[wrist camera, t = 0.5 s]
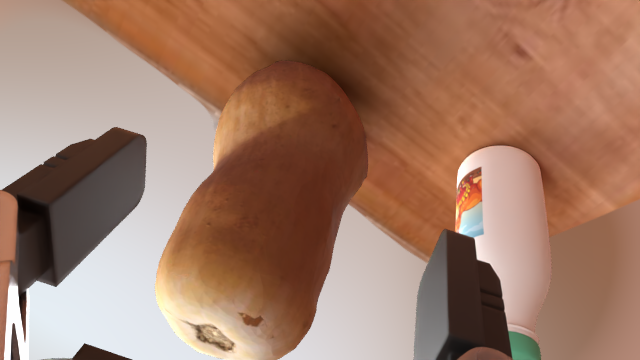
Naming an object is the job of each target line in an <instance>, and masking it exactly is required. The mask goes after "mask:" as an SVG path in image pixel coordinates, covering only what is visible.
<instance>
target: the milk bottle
mask: <svg viewBox="0 0 640 360" xmlns="http://www.w3.org/2000/svg"><path fill="white" fill-rule="evenodd" d="M456 232H457V233H460V234H463V235H467V236H470V237H473V238H474V239H475V245H476V255H477V260H480V261H483V262H487V263H490V265H491V266H492V268H493V269H494V271H495V272H496V274H497V276H498V277H499V279H500V282H501V288H502V294H503V296H502V299H503V301H504V307H505V310H504V312H505V313H506V320H507V326H508V332H509V339H510V345H511V351H512V358H513V360H541V355H540V348H539V346H538V345H539V338H538V336H537V335H536V334H535V325H536V320H537V317H538V314H539V311H540V308H541V306H542V304H543V302H544V300H545V298H546V296H547V293H548V289H549V286H550V281H551V272H552V264H551V251H550V241H549V232H548V223H547V215H546V207H545V199H544V192H543V184H542V177H541V172H540V168H539V165H538V163H537V162H536V161H535V160H534V158H533V157H532V156H531V155H529V154H528V153H527V152H525V151H523V150H521V149H518V148H515V147H511V146H490V147H486V148H482V149H479V150H477V151H475V152H473V153H472V154H471V155H469V156H468V157H467V158H466V159H465V160H464V161H463V163H462V164H461V166H460V168H459V170H458V178H457V201H456Z"/></svg>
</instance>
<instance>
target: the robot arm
mask: <svg viewBox="0 0 640 360" xmlns="http://www.w3.org/2000/svg"><path fill="white" fill-rule="evenodd" d="M146 147H147V143H146V138H145V137H144V136H143V135H140V134H137V133H134V132H131V131H128V130H124V129H121V128H118V127H114V128H112V129H110V130H109V131H107V132H106V133H105V134H103V135H102V136H100V137H99V138H97V139H96V140H93V139H88V140H85V141H82V142H79V143H75V144H72V145H70V146H68V147H66V148H65V149H64V150H62V151H60V152H59V153H57V154H56V156H55V157H51V158H50V159H48V160H47V161H45V162H44V164H43V165H42V164H41V165H39V166H37V167H36V168H34V169H33V170H31V171H30V172H28V173H27V174H26V175H24V176H22V177H21V178H19V179H18V180H16V181H15V182H13V183H12V184H10V185H8V186H7V187H5V188H4V189H3V190H0V360H28V336H29V335H28V334H29V293H28V288H29V287H30V286H31V285H32V284H33V283H34V282H35V281H40V282H43V283H46V284H49V285H52V286H55V287H57V285H58V284H59V283H61V282H62V281H63V279H65V277H66V276H67V275H69V273H70V272H71V271H73V269H75V267H76V266H77V265H78V264H80V263H81V261H82V260H83V259H84V258H86V256H88V254H90V252H92V251H93V250H94V249H95V247H97V246H98V244H100V242H101V241H102V240H103V239H104V238H105V237H106V236H107V235H108V234H109V233H110V232H111V231H112V230H113V229H114V228H115V227H116V226H117V225H118V224H119V223H120V222H121V221H122V220H123V219H124V218H125V217H126V216H127V215H128V214H129V213H130V212H131V211H132V210H133V209H134V208H135V207H136V206H137V205H138V203H139V202H140V200H141V198H142V195H143V192H144V188H145V171H146V170H145V169H146ZM502 296H503V294H502V288H501V282H500V279H499V277H498V276H497V274H496V272H495V271H494V269H493V268H492V266H491V265H490V263H487V262H483V261H480V260H477V255H476V245H475V239H474V238H473V237H470V236H467V235H463V234H460V233H457V232H454V231H450V230H447V229H444V230H443V232H442V233H441V235H440V237H439V240H438V242H437V244H436V246H435V249H434V251H433V253H432V255H431V258H430V260H429V262H428V264H427V267H426V269H425V271H424V273H423V276H422V279H421V282H420V286H419V290H418V295H417V309H416V311H417V312H416V327H415V343H414V359H413V360H513V358H512V351H511V345H510V339H509V332H508V326H507V320H506V313H505V312H504V310H505V307H504V301H503V299H502ZM43 360H132V359H129V358H125V357H123V356H120V355H117V354H114V353H111V352H108V351H105V350H102V349H99V348H96V347H94V346H91V345H87V344H84V345H83V346H82V347H81V348H80V350H79V351H78V352H77V353H76V355H75V356H74V357H73V358H52V359H43Z"/></svg>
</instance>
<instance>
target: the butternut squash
mask: <svg viewBox="0 0 640 360" xmlns="http://www.w3.org/2000/svg"><path fill="white" fill-rule="evenodd" d="M213 156H214V157H213V161H214V171H213V173H212V174H211V175H210V176H209V177H208V178H207V179H206V180H205V181H204V182H202V184H201V185H200V186H199V187H198V188H197V190H196V191H195V192H194V193H193V195H192V196H191V198H190V199H189V201H188V203H187V205H186V206H185V208H184V210H183V212H182V214H181V216H180V218H179V221H178V223H177V225H176V227H175V229H174V231H173V233H172V235H171V237H170V239H169V241H168V243H167V245H166V247H165V249H164V251H163V254H162V257H161V259H160V262H159V266H158V270H157V277H156V278H157V279H156V284H155V291H156V298H157V302H158V305H159V307H160V309H161V311H162V313H163V314H164V316H165V317H166V319H167V321H168V322H169V324H170V326H171V327H172V329H173V330H174V332H175V333H176V334H177V336H178V337H180V338H181V339H182V340H183V341H184V342H185V343H187V344H188V345H190V346H191V347H192V348H193V349H195V350H196V351H197V352H200V353H204V354H207V355H210V356H214V357H216V358H220V359H225V360H277V359H280V358H281V357H283V356H284V355H286V354H287V353H289V352H291V351H292V350H294V349H295V348H296V347H297V345H298V344H299V343H300V342H301V340H302V339H303V338H304V336H305V335H306V334H307V332H308V331H309V329H310V327H311V325H312V322H313V320H314V317H315V313H316V307H317V302H318V297H319V295H320V292H321V289H322V287H323V284H324V281H325V279H326V276H327V274H328V272H329V269H330V264H331V259H332V253H333V248H334V243H335V240H336V236H337V232H338V229H339V225H340V221H341V218H342V215H343V212H344V210H345V208H346V206H347V205H348V203H349V201H350V200H351V198H352V197H353V196H354V194H355V193H356V192H357V191H358V189H359V188H360V187H361V185H362V182H363V181H364V179H365V178H366V176H367V171H368V154H367V144H366V136H365V132H364V128H363V125H362V123H361V120H360V118H359V116H358V114H357V112H356V110H355V108H354V106H353V105H352V103H351V102H350V100H349V99H348V97H347V95H346V94H345V92H344V91H343V90H342V89H341V87H340V86H339V85H338V84H337V83H336V82H335V81H334V80H333V79H332V78H331V77H330V76H329V75H328V74H326V73H325V72H323V71H321V70H319V69H316V68H314V67H312V66H309V65H307V64H304V63H300V62H293V61H277V62H275V63H273V64H272V65H270V66H269V67H266V68H264V69H262V70H259V71H257V72H255V73H253V74H252V75H251V76H250V77H248V78H247V79H246V80H245V81H244V82H243V83H241V84H240V85H239V86H238V87H237V88H236V90H235V91H234V92H233V94H232V95H231V97H230V98H229V100H228V102H227V104H226V105H225V107H224V109H223V112H222V114H221V116H220V118H219V122H218V127H217V130H216V135H215V141H214V152H213Z"/></svg>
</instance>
